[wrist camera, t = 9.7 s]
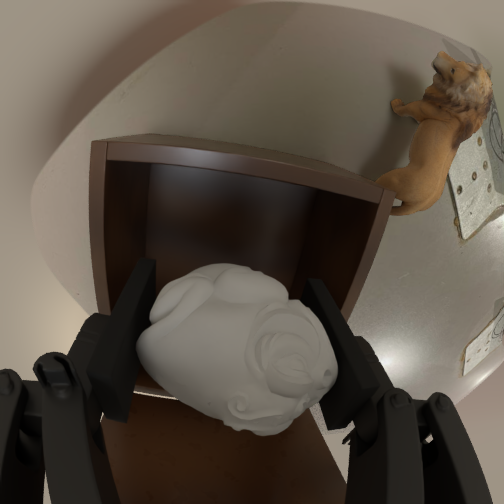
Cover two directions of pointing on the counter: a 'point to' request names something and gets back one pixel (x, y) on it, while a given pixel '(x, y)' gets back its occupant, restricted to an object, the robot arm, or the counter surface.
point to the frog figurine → (237, 348)
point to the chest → (228, 217)
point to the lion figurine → (438, 131)
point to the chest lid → (216, 459)
